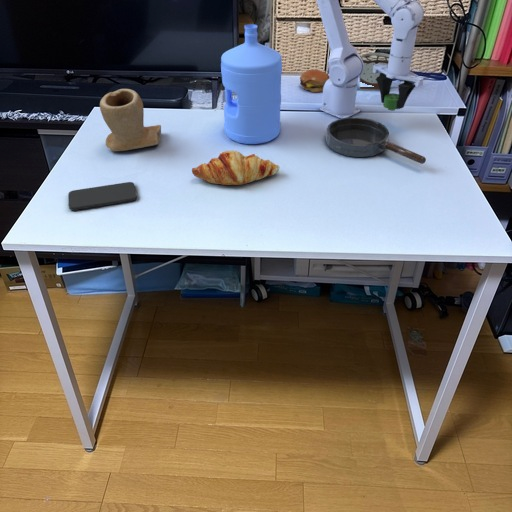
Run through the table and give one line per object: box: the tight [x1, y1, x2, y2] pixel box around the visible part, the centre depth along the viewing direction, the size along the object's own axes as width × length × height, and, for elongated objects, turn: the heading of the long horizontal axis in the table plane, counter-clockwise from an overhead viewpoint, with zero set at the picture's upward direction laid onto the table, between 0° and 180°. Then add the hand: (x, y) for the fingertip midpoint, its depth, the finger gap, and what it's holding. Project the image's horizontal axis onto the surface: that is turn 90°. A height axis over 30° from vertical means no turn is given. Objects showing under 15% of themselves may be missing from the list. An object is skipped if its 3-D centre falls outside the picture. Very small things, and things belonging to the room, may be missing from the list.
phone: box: [67, 181, 138, 211], centre depth 114 cm, size 7×1×15 cm
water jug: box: [220, 23, 283, 145], centre depth 129 cm, size 16×16×28 cm
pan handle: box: [380, 141, 427, 165], centre depth 123 cm, size 12×2×2 cm, turn 43°
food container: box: [358, 52, 390, 92], centre depth 158 cm, size 12×6×10 cm, turn 84°
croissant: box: [191, 150, 281, 186], centre depth 119 cm, size 21×10×8 cm, turn 98°
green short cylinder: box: [382, 92, 399, 112], centre depth 136 cm, size 5×5×4 cm
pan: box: [325, 116, 390, 158], centre depth 132 cm, size 16×16×4 cm
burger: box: [299, 69, 329, 93], centre depth 160 cm, size 10×9×5 cm
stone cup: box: [99, 88, 162, 152], centre depth 128 cm, size 15×12×15 cm
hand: (392, 104), depth 136 cm, fingers closed on green short cylinder, 5 cm apart
